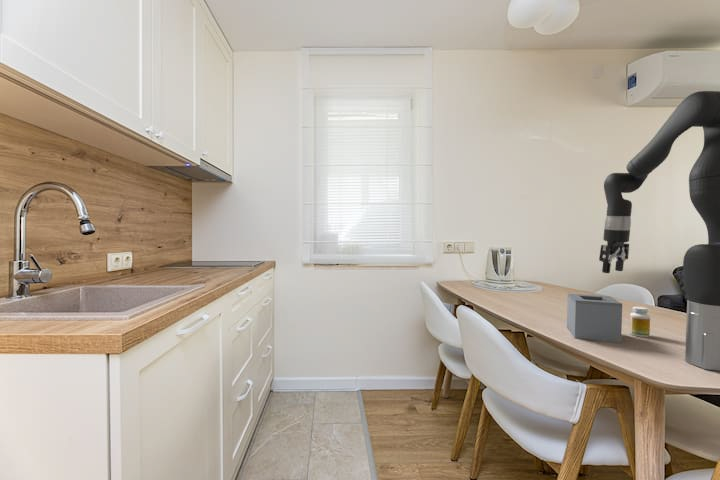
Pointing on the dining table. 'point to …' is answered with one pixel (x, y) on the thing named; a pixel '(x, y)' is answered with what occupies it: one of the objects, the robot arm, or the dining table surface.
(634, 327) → the supplement bottle
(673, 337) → the dining table surface
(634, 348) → the dining table surface
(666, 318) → the dining table surface
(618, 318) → the drop box
